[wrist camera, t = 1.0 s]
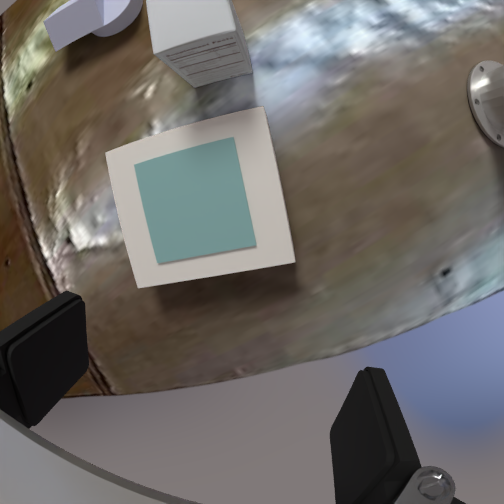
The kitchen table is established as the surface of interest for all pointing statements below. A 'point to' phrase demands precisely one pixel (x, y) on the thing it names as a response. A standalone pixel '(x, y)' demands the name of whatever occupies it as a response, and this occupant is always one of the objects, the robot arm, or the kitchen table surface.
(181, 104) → the kitchen table surface
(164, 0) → the supplement box
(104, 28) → the wedge on round base
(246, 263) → the stand
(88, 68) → the kitchen table surface
